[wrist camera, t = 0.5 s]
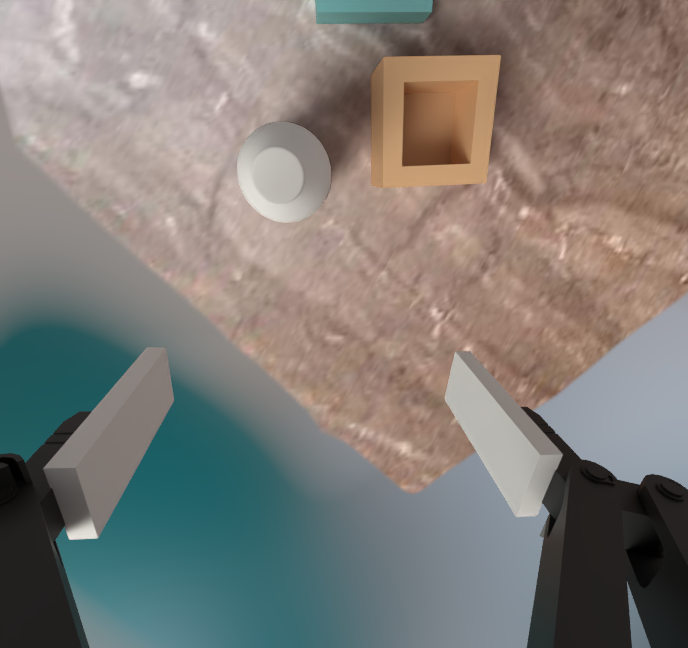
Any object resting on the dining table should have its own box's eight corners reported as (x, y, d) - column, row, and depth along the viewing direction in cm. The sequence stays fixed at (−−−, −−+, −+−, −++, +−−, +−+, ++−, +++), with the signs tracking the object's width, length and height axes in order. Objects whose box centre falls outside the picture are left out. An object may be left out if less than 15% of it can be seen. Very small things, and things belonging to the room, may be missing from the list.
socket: (371, 75, 34) (383, 56, 29) (470, 73, 35) (501, 54, 29) (371, 185, 38) (382, 187, 33) (460, 181, 39) (486, 183, 33)
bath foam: (291, 120, 35) (277, 64, 17) (337, 177, 37) (368, 182, 19) (242, 169, 36) (180, 167, 18) (290, 221, 39) (277, 266, 20)
